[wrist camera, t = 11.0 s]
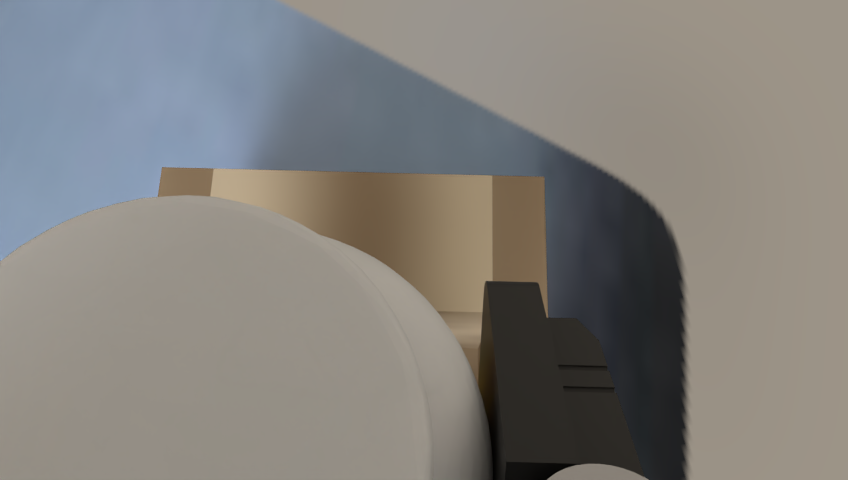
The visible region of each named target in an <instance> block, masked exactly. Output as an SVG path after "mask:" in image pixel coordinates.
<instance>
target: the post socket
mask: <svg viewBox="0 0 848 480" xmlns="http://www.w3.org/2000/svg"><path fill="white" fill-rule="evenodd" d="M182 195H193V196H210V197H219V198H224V199H228V200H233V201H238V202H242V203H246V204H250V205H254V206H259V207H262V208H265V209H268V210H270V211H273V212H276V213H279V214H281V215H283V216H285V217H287V218H289V219H292V220H294V221H296V222H298V223H300V224H302V225H303V226H305V227H307V228H309V229H310V230H312V231H314V232H316V233H317V234H319V235H322V236H325V237H328V238H331V239H334V240H337V241H340V242H342V243H345V244H347V245H350V246H352V247H354V248H356V249H358V250H360V251H363V252H365V253H367V254H369V255H370V256H372V257H374V258H376V259H377V260H379V261H381V262H382V263H384V264H385V265H387V266H388V267H390V268H391V269H392V270H394V271H395V272H396V273H397V274H399V275H400V276H401V277H403V278H404V279H405V280H406V281H407V282H409V283H410V284H411V285H412V286H413V287H414V288H416V289H417V290H418V291H419V292H420V293H421V294H422V295H423V296H424V297H425V298H426V299H427V300H428V301H429V303H430V304H431V305H432V306H433V307H434V309H435V310H436V311H437V312H438V313H439V314H440V316H441V317H442V319H443V320H444V321H445V323H446V324H447V326H448V327H449V328H450V330H451V331H452V333H453V334H454V336H455V337H456V339H457V340H458V342H459V344H460V345H461V347H462V349H463V351H464V354H465V356H466V358H467V360H468V362H469V364H470V366H471V369H472V371H473V374H474V376H475V379H476V381H477V384H479V362H480V345H481V329H482V312H483V296H484V286H485V281H511V282H538V284H539V287H540V291H541V295H542V299H543V304H544V308H545V312H546V316H547V318H548V303H547V264H546V225H545V186H544V177H531V176H491V175H450V174H410V173H370V172H329V171H289V170H248V169H208V168H167V167H162V172H161V178H160V185H159V192H158V197H164V196H182Z"/></svg>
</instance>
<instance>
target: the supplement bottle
mask: <svg viewBox="0 0 848 480" xmlns="http://www.w3.org/2000/svg"><path fill="white" fill-rule="evenodd" d="M0 480H493V457H492V447H491V439H490V431H489V424H488V419H487V415H486V411H485V407H484V403H483V399H482V396H481V393H480V390H479V387H478V384H477V381H476V379H475V376H474V374H473V371H472V369H471V366H470V364H469V362H468V360H467V358H466V356H465V354H464V351H463V349H462V347H461V345H460V344H459V342H458V340H457V339H456V337H455V336H454V334H453V333H452V331H451V330H450V328H449V327H448V326H447V324H446V323H445V321H444V320H443V319H442V317H441V316H440V314H439V313H438V312H437V311H436V310H435V309H434V307H433V306H432V305H431V304H430V303H429V301H428V300H427V299H426V298H425V297H424V296H423V295H422V294H421V293H420V292H419V291H418V290H417V289H416V288H414V287H413V286H412V285H411V284H410V283H409V282H407V281H406V280H405V279H404V278H403V277H401V276H400V275H399V274H397V273H396V272H395V271H394V270H392V269H391V268H390V267H388V266H387V265H385V264H384V263H382V262H381V261H379V260H377V259H376V258H374V257H372V256H370V255H369V254H367V253H365V252H363V251H360V250H358V249H356V248H354V247H352V246H350V245H347V244H345V243H342V242H340V241H337V240H334V239H331V238H328V237H325V236H322V235H319V234H317V233H316V232H314V231H312V230H310V229H309V228H307V227H305V226H303V225H302V224H300V223H298V222H296V221H294V220H292V219H289V218H287V217H285V216H283V215H281V214H279V213H276V212H273V211H270V210H268V209H265V208H262V207H259V206H254V205H250V204H246V203H242V202H238V201H233V200H228V199H224V198H219V197H210V196H193V195H182V196H164V197H152V198H141V199H137V200H132V201H127V202H122V203H118V204H114V205H110V206H107V207H104V208H100V209H97V210H93V211H90V212H87V213H84V214H82V215H79V216H77V217H74V218H72V219H70V220H67V221H65V222H63V223H61V224H59V225H57V226H55V227H53V228H51V229H49V230H47V231H45V232H44V233H42V234H40V235H39V236H37V237H35V238H33V239H32V240H30V241H28V242H27V243H25V244H23V245H22V246H20V247H19V248H17V249H16V250H15V251H13V252H12V253H11V254H10V255H8V256H7V257H6V258H4V259H3V260H2V261H0Z"/></svg>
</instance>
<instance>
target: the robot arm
mask: <svg viewBox="0 0 848 480" xmlns="http://www.w3.org/2000/svg"><path fill="white" fill-rule="evenodd" d="M478 387H479V390H480V393H481V396H482V399H483V403H484V407H485V411H486V415H487V419H488V424H489V431H490V439H491V447H492V457H493V480H648V479H646V478H645V477H644V474H643V471H642V468H641V465H640V462H639V459H638V456H637V453H636V450H635V447H634V444H633V441H632V438H631V435H630V432H629V429H628V426H627V423H626V420H625V417H624V414H623V411H622V408H621V405H620V402H619V399H618V396H617V393H615V392H614V388H615V387H614V384H613V381H612V378H611V375H610V373H609V371H607V364H606V361H605V358H604V355H603V352H602V349H601V346H600V343H599V340H598V339H597V338H596V337H595V336H594V335H593V334H592V333H591V332H590V331H589V330H588V329H586V328H585V327H584V326H583V325H582V324H581V323H580V322H579V321H578V320H577V319H576V318H547V316H546V312H545V308H544V304H543V299H542V295H541V291H540V287H539V284H538V282H511V281H485V286H484V296H483V312H482V329H481V345H480V362H479V384H478Z"/></svg>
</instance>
